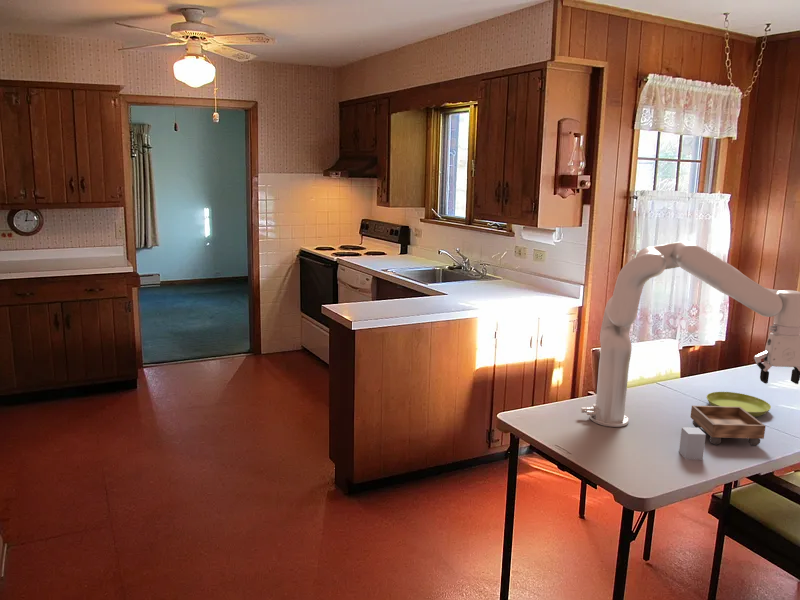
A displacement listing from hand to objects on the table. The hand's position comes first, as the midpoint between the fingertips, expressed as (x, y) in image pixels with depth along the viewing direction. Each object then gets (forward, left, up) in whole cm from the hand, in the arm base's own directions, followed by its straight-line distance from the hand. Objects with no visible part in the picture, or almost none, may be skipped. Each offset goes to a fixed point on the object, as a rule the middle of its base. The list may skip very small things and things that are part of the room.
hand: (779, 382), depth 205 cm
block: (-32, -15, -19) cm, 40 cm away
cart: (-15, 0, -19) cm, 24 cm away
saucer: (+1, +25, -19) cm, 32 cm away
